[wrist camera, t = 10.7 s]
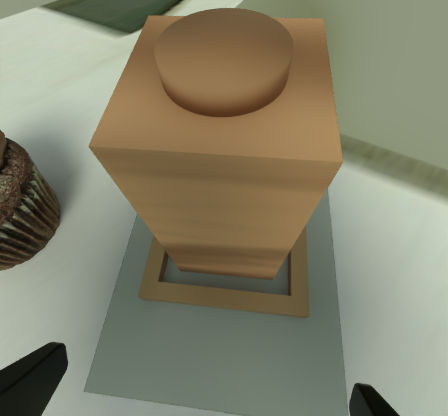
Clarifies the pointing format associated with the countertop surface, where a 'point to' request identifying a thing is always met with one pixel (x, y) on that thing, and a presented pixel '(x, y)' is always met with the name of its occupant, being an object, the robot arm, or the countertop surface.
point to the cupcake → (23, 206)
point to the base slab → (226, 332)
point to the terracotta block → (224, 136)
